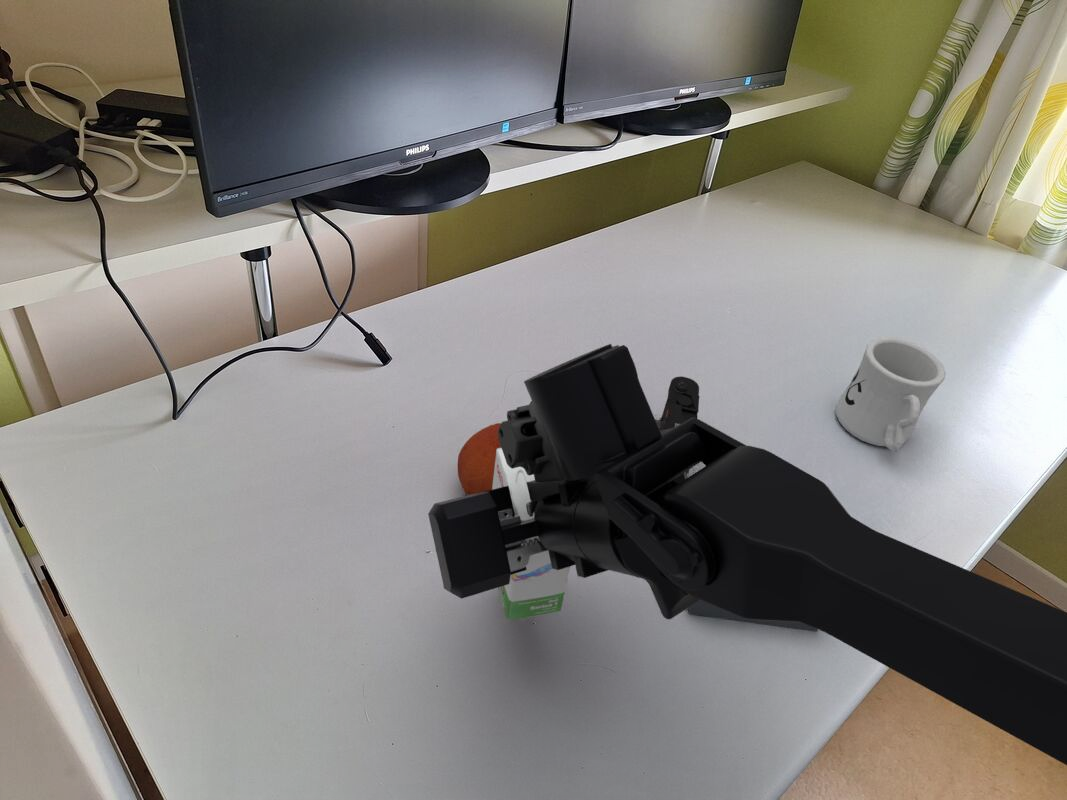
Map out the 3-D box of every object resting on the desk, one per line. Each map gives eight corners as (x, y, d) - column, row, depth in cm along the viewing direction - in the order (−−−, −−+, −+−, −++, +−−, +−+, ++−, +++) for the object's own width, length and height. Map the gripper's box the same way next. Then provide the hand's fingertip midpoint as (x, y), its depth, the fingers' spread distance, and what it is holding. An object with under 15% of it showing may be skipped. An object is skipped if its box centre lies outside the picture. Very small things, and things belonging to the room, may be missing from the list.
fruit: (471, 451, 82) (476, 395, 77) (550, 474, 81) (561, 419, 75) (441, 510, 75) (444, 453, 70) (527, 536, 74) (536, 480, 69)
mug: (827, 393, 97) (858, 330, 90) (897, 405, 97) (934, 342, 90) (846, 462, 87) (882, 397, 81) (925, 475, 87) (967, 411, 81)
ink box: (563, 613, 61) (585, 518, 54) (505, 622, 60) (520, 526, 53) (536, 534, 68) (553, 439, 60) (483, 541, 66) (494, 445, 59)
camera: (628, 410, 90) (642, 357, 85) (688, 423, 89) (706, 371, 84) (612, 497, 79) (628, 443, 74) (681, 513, 79) (701, 459, 73)
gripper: (713, 365, 50) (606, 390, 64) (441, 423, 43) (389, 437, 57) (751, 532, 49) (634, 520, 64) (483, 618, 42) (421, 582, 57)
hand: (525, 511), depth 60 cm, fingers closed on ink box, 5 cm apart
